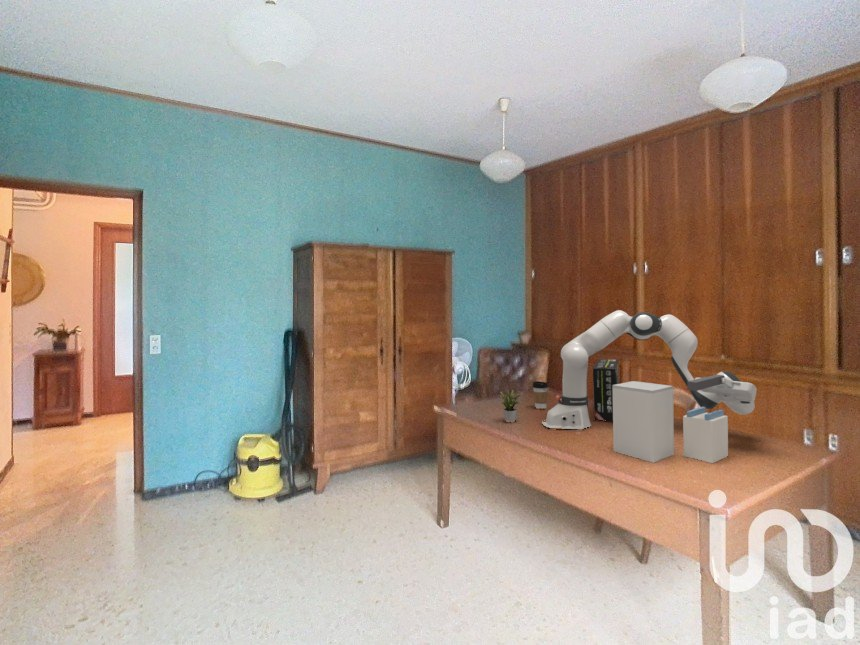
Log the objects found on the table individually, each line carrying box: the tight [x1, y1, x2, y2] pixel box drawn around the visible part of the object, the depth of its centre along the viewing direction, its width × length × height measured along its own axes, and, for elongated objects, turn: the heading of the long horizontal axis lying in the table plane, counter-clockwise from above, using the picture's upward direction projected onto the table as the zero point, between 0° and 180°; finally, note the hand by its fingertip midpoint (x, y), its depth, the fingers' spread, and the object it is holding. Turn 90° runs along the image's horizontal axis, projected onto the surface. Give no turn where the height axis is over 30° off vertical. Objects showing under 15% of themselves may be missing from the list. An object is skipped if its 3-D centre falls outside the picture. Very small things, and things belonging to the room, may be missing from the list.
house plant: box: [498, 389, 524, 421], centre depth 222 cm, size 14×14×16 cm
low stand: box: [682, 406, 729, 464], centre depth 166 cm, size 12×10×17 cm
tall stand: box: [612, 380, 675, 463], centre depth 171 cm, size 14×16×26 cm
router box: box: [592, 358, 620, 422], centre depth 234 cm, size 36×11×27 cm, turn 156°
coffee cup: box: [532, 380, 549, 409], centre depth 249 cm, size 8×8×15 cm
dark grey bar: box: [686, 374, 725, 391], centre depth 166 cm, size 22×3×3 cm, turn 124°
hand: (715, 378), depth 170 cm, fingers closed on dark grey bar, 3 cm apart
